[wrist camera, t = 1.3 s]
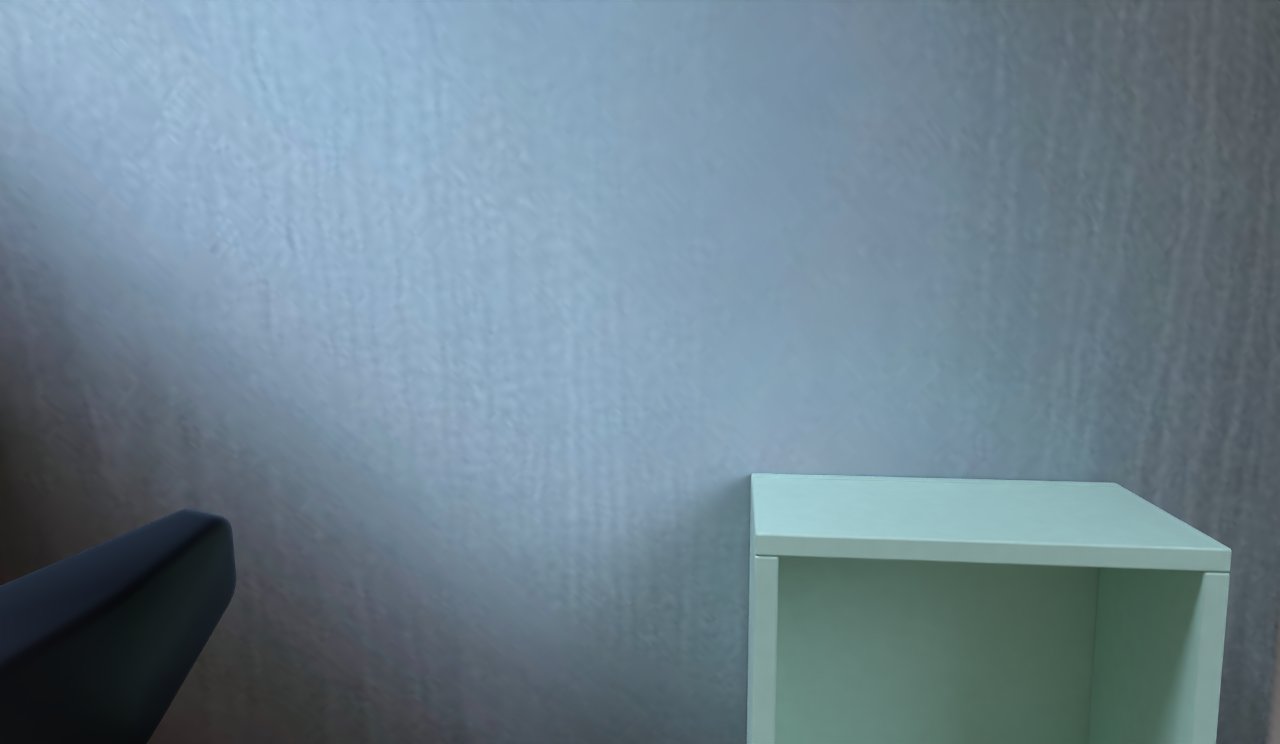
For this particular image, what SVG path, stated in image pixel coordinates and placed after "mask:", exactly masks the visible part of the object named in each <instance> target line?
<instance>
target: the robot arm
mask: <svg viewBox="0 0 1280 744" xmlns="http://www.w3.org/2000/svg"><path fill="white" fill-rule="evenodd" d="M235 585H236V569H235V557H234V546H233V534H232V527H231V524H230V523H229V521H228V520H227V519H226V518H224V517H223V516H219V515H215V514H211V513H207V512H204V511H200V510H196V509H184V510H180V511H177V512H175V513H173V514H170V515H168V516H165V517H163V518H161V519H158V520H156V521H153V522H151V523H149V524H146V525H144V526H142V527H139V528H137V529H134V530H132V531H130V532H127V533H125V534H122V535H120V536H118V537H115V538H113V539H111V540H108V541H106V542H103V543H101V544H99V545H96V546H94V547H91V548H89V549H87V550H84V551H82V552H80V553H77V554H75V555H72V556H70V557H68V558H65V559H63V560H60V561H58V562H56V563H53V564H51V565H49V566H46V567H44V568H41V569H39V570H37V571H34V572H32V573H29V574H27V575H25V576H22V577H20V578H18V579H15V580H13V581H10V582H8V583H6V584H3V585H1V586H0V744H146V743H147V742H148V740H149V739H150V737H151V736H152V734H153V732H154V731H155V729H156V728H157V726H158V724H159V723H160V721H161V719H162V718H163V716H164V714H165V713H166V711H167V709H168V708H169V706H170V704H171V702H172V701H173V699H174V697H175V696H176V694H177V692H178V690H179V689H180V687H181V685H182V684H183V682H184V680H185V678H186V677H187V675H188V673H189V672H190V670H191V668H192V666H193V665H194V663H195V661H196V660H197V658H198V656H199V654H200V653H201V651H202V649H203V648H204V646H205V644H206V642H207V641H208V639H209V637H210V636H211V634H212V632H213V630H214V629H215V627H216V625H217V624H218V622H219V620H220V618H221V617H222V615H223V613H224V612H225V610H226V608H227V607H228V605H229V603H230V601H231V598H232V596H233V593H234V590H235Z"/></svg>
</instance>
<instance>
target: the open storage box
mask: <svg viewBox="0 0 1280 744" xmlns="http://www.w3.org/2000/svg"><path fill="white" fill-rule="evenodd" d="M1230 564H1231V549H1230V548H1228V547H1226V546H1225V545H1223V544H1221V543H1219V542H1218V541H1216V540H1214V539H1212V538H1211V537H1209V536H1207V535H1205V534H1204V533H1202V532H1200V531H1198V530H1197V529H1195V528H1193V527H1191V526H1190V525H1188V524H1186V523H1184V522H1183V521H1181V520H1179V519H1177V518H1176V517H1174V516H1172V515H1170V514H1169V513H1167V512H1165V511H1163V510H1162V509H1160V508H1158V507H1156V506H1155V505H1153V504H1151V503H1149V502H1148V501H1146V500H1144V499H1143V498H1141V497H1139V496H1137V495H1136V494H1134V493H1132V492H1130V491H1129V490H1127V489H1125V488H1123V487H1122V486H1120V485H1118V484H1116V483H1103V482H1065V481H1026V480H988V479H949V478H911V477H872V476H834V475H795V474H757V473H753V474H752V475H751V511H750V572H749V634H748V696H747V744H1216V735H1217V723H1218V711H1219V699H1220V686H1221V674H1222V662H1223V650H1224V638H1225V626H1226V614H1227V602H1228V590H1229V577H1230V575H1229V573H1228V572H1229V571H1230Z"/></svg>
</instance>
